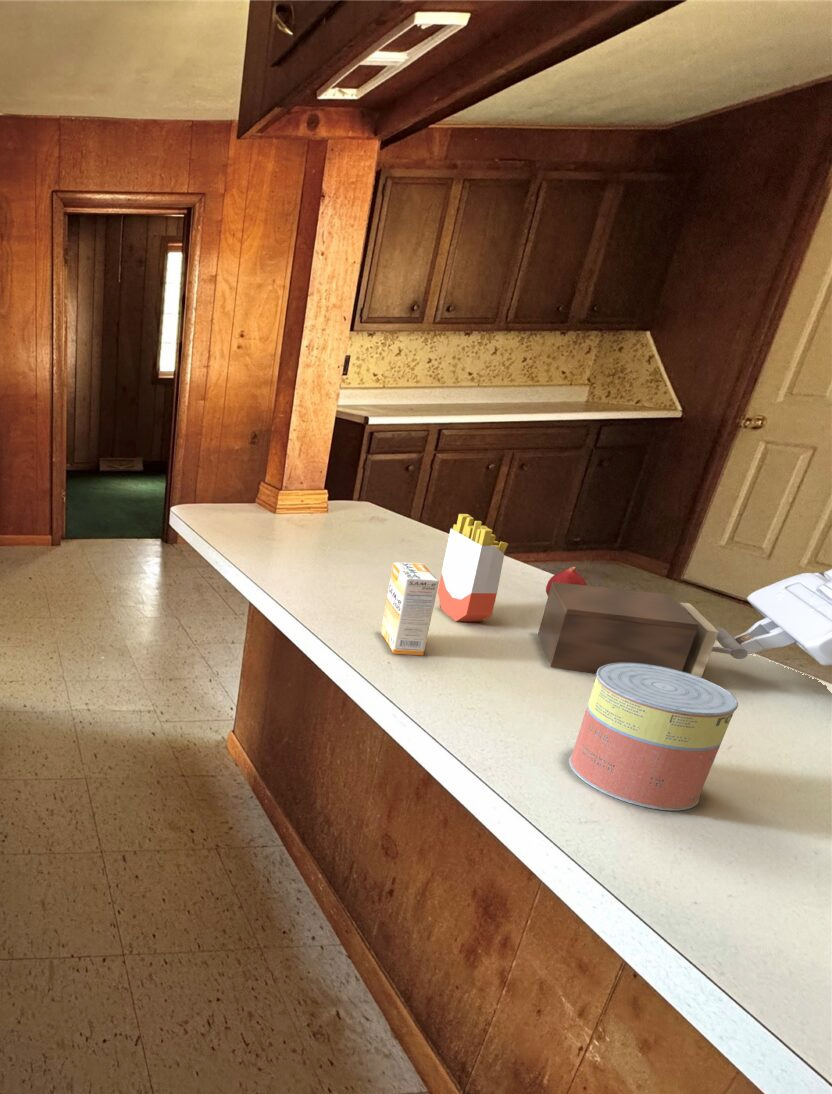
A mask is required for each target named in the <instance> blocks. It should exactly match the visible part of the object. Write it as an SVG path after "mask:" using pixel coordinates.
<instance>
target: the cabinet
mask: <svg viewBox="0 0 832 1094" xmlns="http://www.w3.org/2000/svg"><path fill="white" fill-rule="evenodd" d="M541 617H542V618H541V621H540V624H539V628H538V632H537V638H538V640H539V643H540V645H541V647H542V650H543V652H544V654H545V657H546V659H547V662H548V664H549V667H551V668H555V669H563V670H568V671H575V672H582V673H590V674H595V675H597V670H598V669H599V668H600V667H602V666H604V665H607V664H611V663H641V664H649V665H655V666H661V667H665V668H670V669H674V670H678V671H682V670H683V667H684V664H685V661H686V659H687V656H688V653H689V651H690V648H691V645H692V642H693V640H694V637H695V634H696V632H697V629H698V626H699V624H698V623H697V622H696V621H695V620H694V619H693V618H692V617H691V616H690V615H689V614H688V613H687V612H686V611H685V610H684V609H683V608H682V607H681V606H680V605H679V602H677V600H676V599H674V597H673V596H672V595H671V594H668V593H659V592H650V591H639V590H632V589H630V590H629V589H622V588H612V587H603V586H594V585H587V586H585V585H576V584H567V583H557V582H552V584H551V588H550V591H549V595H548V596H547V599H546V602H545V606H544V610H543V613H542V616H541Z"/></svg>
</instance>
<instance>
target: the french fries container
mask: <svg viewBox="0 0 832 1094" xmlns="http://www.w3.org/2000/svg"><path fill="white" fill-rule="evenodd" d="M457 516H458V517H457V521H456V523H454V524H453V526H452V527H450V530H449V534H448V540H447V545H446V549H445V553H444V554H445V555H444V558H443V564H442V569H441V573H440V578H439V584H438V589H437V596H438V601H439V603H440V604H439V605H440V609H441V611H442V612H444V613H445V614H446V615H447V616H449V618H450V619H452V620H454V621H455V622H469V623H471V622H472V623H473V622H474V623H475V622H476V623H481V622H483V621H484V620H486V619H487V618H489V617H491V616H493V612H494V608H495V603H496V600H497V595H498V591H499V583H500V579H501V574H502V568H503V563H504V559H505V552H506V550H507V547H508V546H509V543H507V542H504V541H500V542H499V541H497V540H496V539H497V536H496V534H493V529H491V528H488V526H487V525H482V524H483V523H482V521H481V520H475V518H474V517H472V516H471V515H470V514H468V513H458V515H457Z"/></svg>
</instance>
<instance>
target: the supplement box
mask: <svg viewBox="0 0 832 1094" xmlns="http://www.w3.org/2000/svg"><path fill="white" fill-rule="evenodd" d="M439 583H440V579H438V578H437V577H436V576H435V575H434V574H433V573H432V571H430V569H428V567H426V565H425V564H424V563H422V562H421V563H420V562H404V561H403V562H399V561H397V562H392V567H391V573H390V578H389V584H388V590H387V595H386V601H385V607H384V611H383V617H382V624H381V629H380V634H381V636H382V637H383V638H384V640H385V641H386V643H387V645H388V646H389V649H390V651H391V652H392V654H394V655H410V656H424V655H425V649H426V645H427V640H428V635H429V630H430V625H431V621H432V616H433V611H434V607H435V602H436V598H437V594H438V588H439Z"/></svg>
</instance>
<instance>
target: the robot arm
mask: <svg viewBox="0 0 832 1094" xmlns="http://www.w3.org/2000/svg"><path fill="white" fill-rule="evenodd" d="M746 601H748V603H749V604H750V605H751V606H752V607H753V609H755V610H756V611H757V613H758V614H760V615H761V616H762V617H763V618H762V619H760V620H758V621H756V623H754V624H753V625H752V626H751V627H750V628H748V630H746V631H745V632H742V633H740V634H738V635H735V636H734V637H733V638H734V639H735V640H736V641H737V642H738V643H739V644H740V645H741V646H742V647H743V648H744V649H745V650H746V651H747V652H748V655H753V654H755V653H759V652H761V651H763V650H770V649H776V648H778V649H779V648H783V647H784V648H785V647H787V646H789V645H793V644H794V643H795V644H796V645H797V646H798V647H800V648H801V649H802V651H804V652H805V653H807V654H808V655H809V656H810V657H812V658H813V659H814V660H815V661H816V662H818V663H819V664H820V665H821V666H828V667H829V666H832V568H831V569H828V570H826V571H824V572H823V571H822V572H813V573H811V572H804V573H799V574H796V575H791V576H790V577H787V578H784V579H782V580H779V581H776V582H774V583H772V584H768V585H767V586H764V587H761V588H758V589H756V590H755V591H753V592H751V593H750V594H749V595H748V596H747V597H746Z"/></svg>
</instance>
